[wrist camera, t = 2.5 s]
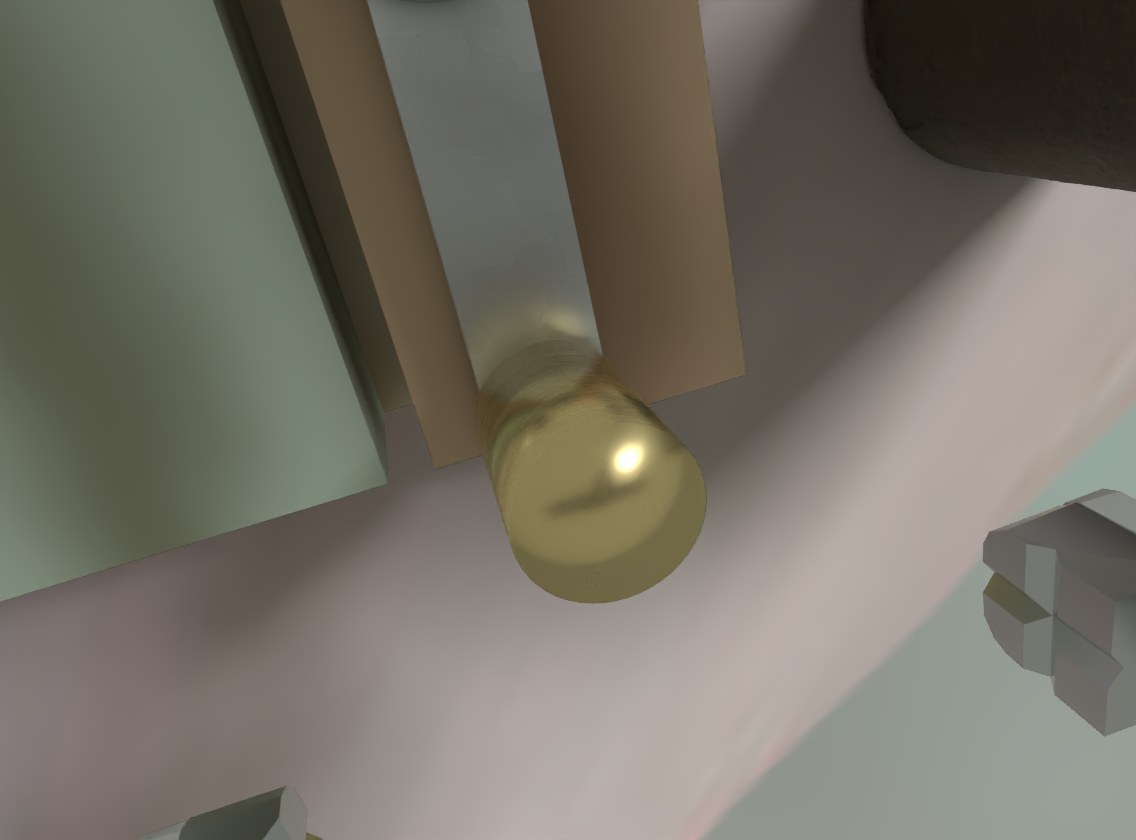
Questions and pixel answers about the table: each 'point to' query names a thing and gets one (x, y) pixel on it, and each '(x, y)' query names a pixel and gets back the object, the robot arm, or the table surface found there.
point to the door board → (296, 258)
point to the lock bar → (532, 309)
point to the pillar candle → (1013, 84)
